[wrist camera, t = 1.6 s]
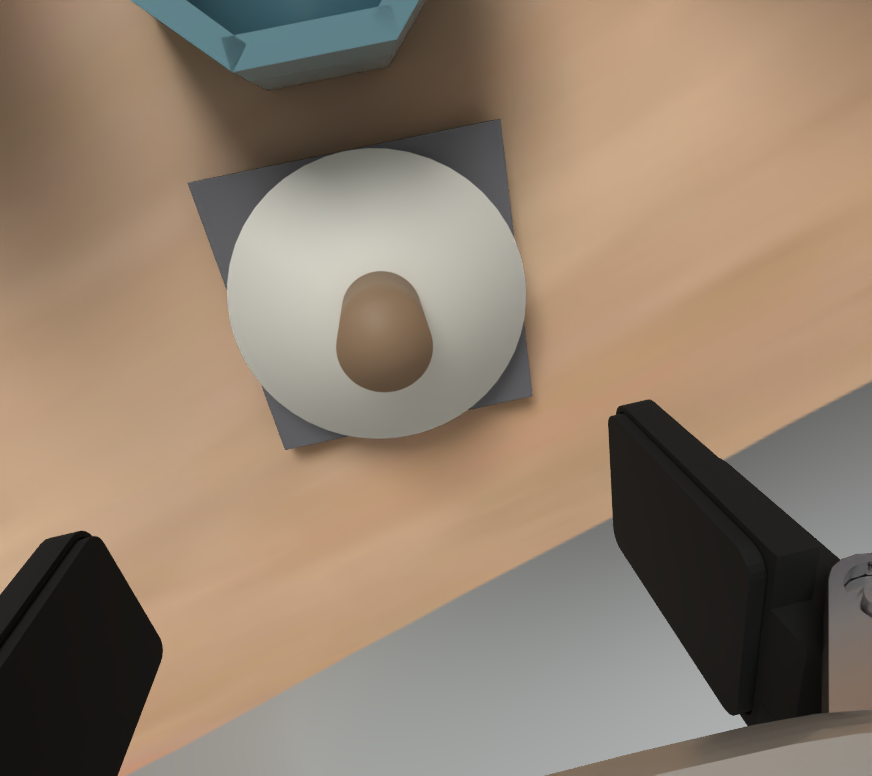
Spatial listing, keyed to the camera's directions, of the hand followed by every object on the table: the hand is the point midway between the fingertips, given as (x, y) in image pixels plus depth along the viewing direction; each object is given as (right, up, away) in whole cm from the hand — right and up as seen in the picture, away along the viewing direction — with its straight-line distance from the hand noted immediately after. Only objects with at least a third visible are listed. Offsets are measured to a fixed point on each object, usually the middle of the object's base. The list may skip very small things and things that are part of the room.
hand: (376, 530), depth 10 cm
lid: (-1, +6, +13) cm, 14 cm away
